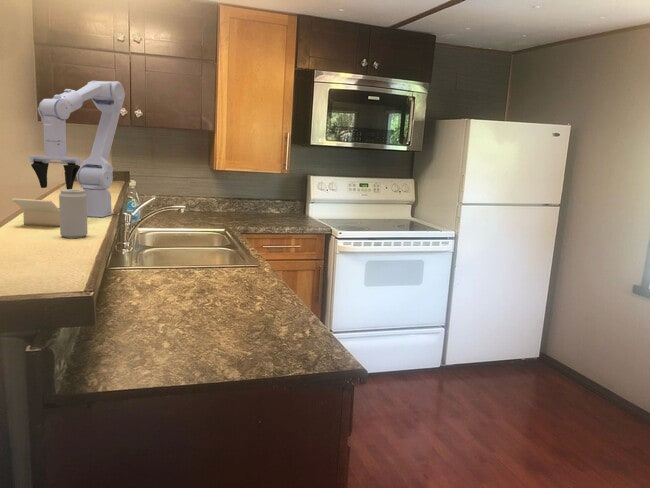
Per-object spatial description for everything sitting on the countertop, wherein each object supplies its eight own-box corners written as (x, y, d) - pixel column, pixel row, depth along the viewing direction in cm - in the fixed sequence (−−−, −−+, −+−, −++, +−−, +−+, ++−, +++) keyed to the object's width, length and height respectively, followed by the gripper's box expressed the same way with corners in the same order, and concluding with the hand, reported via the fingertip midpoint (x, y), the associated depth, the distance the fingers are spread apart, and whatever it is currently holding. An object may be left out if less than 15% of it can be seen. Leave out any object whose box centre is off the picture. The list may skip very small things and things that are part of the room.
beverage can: (92, 235, 144) (91, 189, 141) (79, 239, 137) (77, 191, 135) (69, 233, 144) (68, 188, 142) (55, 237, 138) (53, 190, 136)
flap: (12, 198, 148) (12, 199, 148) (50, 200, 147) (50, 201, 147) (23, 208, 153) (23, 209, 153) (60, 210, 153) (60, 212, 153)
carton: (35, 221, 160) (35, 206, 159) (72, 223, 160) (72, 208, 159) (23, 224, 154) (23, 208, 153) (62, 226, 154) (61, 211, 153)
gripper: (22, 139, 154) (24, 188, 156) (72, 142, 153) (74, 190, 156) (36, 140, 161) (38, 186, 163) (84, 142, 160) (85, 189, 163)
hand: (56, 188), depth 160 cm, fingers open, 7 cm apart
